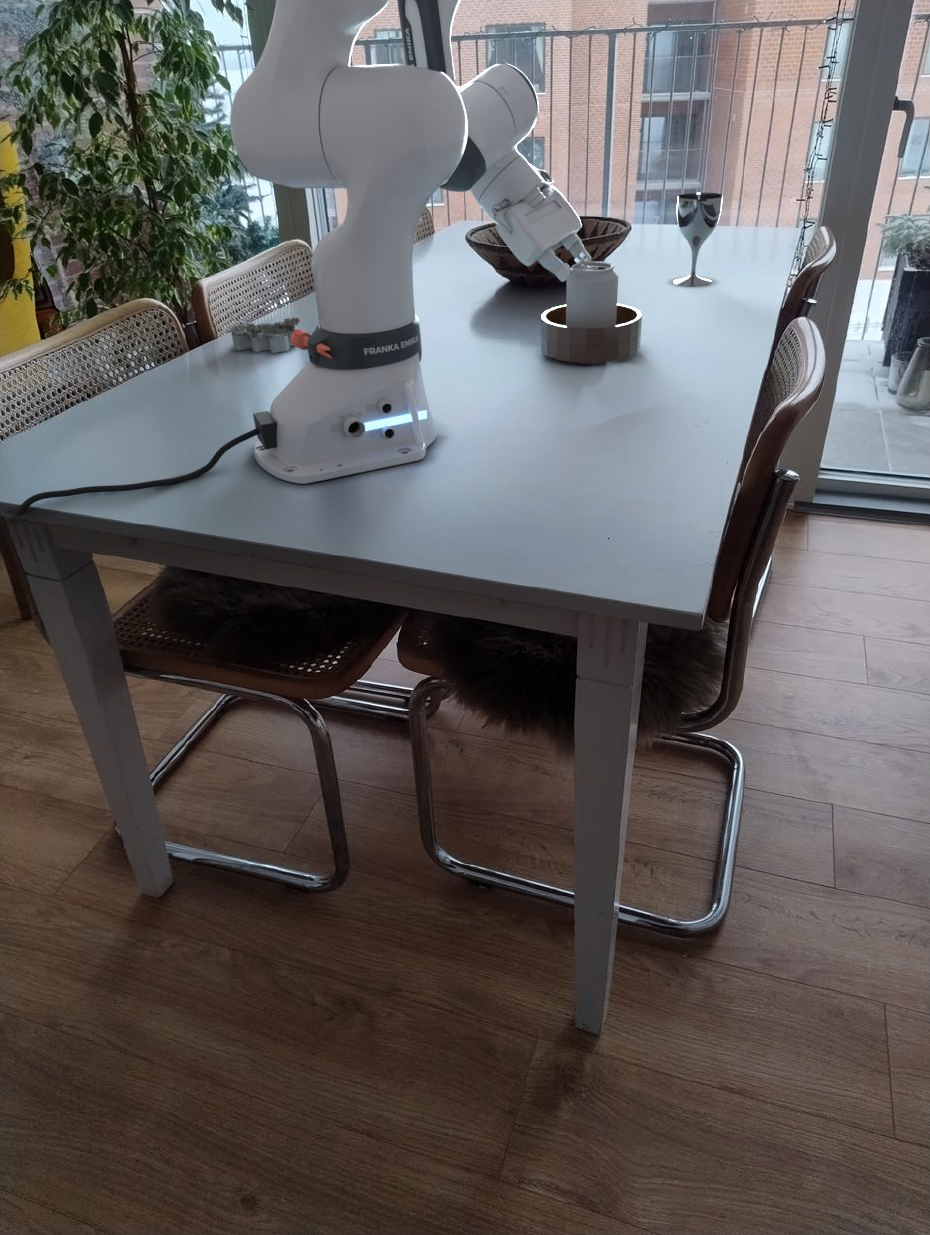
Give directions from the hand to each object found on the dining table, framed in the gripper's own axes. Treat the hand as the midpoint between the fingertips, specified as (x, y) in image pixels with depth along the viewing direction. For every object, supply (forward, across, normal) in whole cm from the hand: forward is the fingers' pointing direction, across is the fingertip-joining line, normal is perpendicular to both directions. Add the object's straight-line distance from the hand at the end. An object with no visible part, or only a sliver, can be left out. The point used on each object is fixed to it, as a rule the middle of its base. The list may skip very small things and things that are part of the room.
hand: (578, 270), depth 127 cm
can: (+10, 0, +6) cm, 12 cm away
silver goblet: (+14, +47, +2) cm, 50 cm away
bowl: (+10, 0, +7) cm, 12 cm away
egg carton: (-27, -9, +44) cm, 53 cm away
